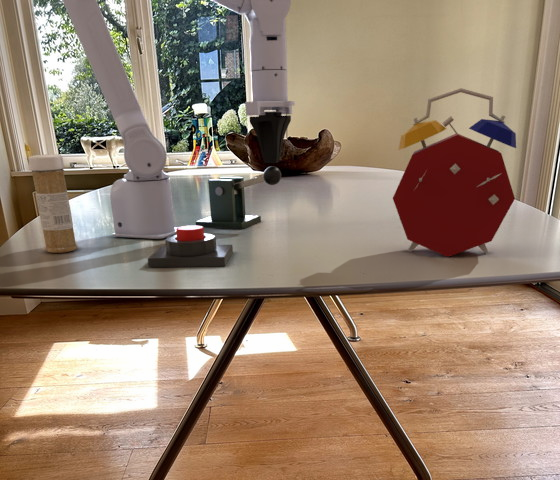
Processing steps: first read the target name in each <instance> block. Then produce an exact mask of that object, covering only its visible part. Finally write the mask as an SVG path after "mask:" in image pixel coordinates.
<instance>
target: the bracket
mask: <svg viewBox="0 0 560 480" xmlns="http://www.w3.org/2000/svg"><path fill="white" fill-rule="evenodd" d="M244 179H245V178H244V177H243V176H221V177H219V178H218V179H213V178H211V179H208V180H207V182H208V183H207V184H208V196H209V210H210V216H208V217H205V218H202V219H199V220H195V225H198V226H203V229H204V228H206V229H231V230H244V229H245V228H248V227H250V226H253V225H255V224H258V223H260V222H261V221H262V216H261V215H247V214H246V198H245V187H244V188H240V189H237V191H238V194H235V195H234V180H235V184H236V183H239V182H242V181H245V180H244Z"/></svg>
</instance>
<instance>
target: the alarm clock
mask: <svg viewBox="0 0 560 480" xmlns="http://www.w3.org/2000/svg"><path fill="white" fill-rule="evenodd" d="M459 93H462V94H465V95H469V96H473V97H477V98H480V99H484V100H487V101H488V116H489V117H491V118H493V119H495V120H493V119H485V118H481V119H480V120H478V121H477V122H475V123H474V124H473V125H471V126H470V127H468V129H469V130H471V131H473V132H476V133H478V134H480V135H483V136H485V137H487V138H490V139H489V140H488V142H487V144H484V143H481V142H479V141H476V140H475V139H472V138H469V137H467V136H465V135H462V134H460V133H458V132H457V130H456V129H455V128H454V126H453V125H452V124H451V123H452V122H453V121H454V118H453V116H451V115H450V116H449V117H448V118H446V120H444V121H443V122H442V123H440V122H439V121H438V120H436V119H434V120H428V121H425V120H427V119H429V118H430V116H431V108H432V103H433V102H436V101H439V100H442V99H445V98H448V97H451V96H454V95H457V94H459ZM493 109H494V96H491V95H487V94H484V93H480V92H476V91H473V90H469V89H466V88H462V87H461V88H457V89H454V90H452V91H449V92H445V93H443V94H440V95H437V96H434V97H431V98H428V99H427V106H426V112H425V115H423V117H421V118H420V119H419V120H418V117H415V118H413V122H414V123H413V124H412V127H410V128H409V129H407V130H406V131H405V132H404V133H403V134H401V136H400V141H399V145H398V149H397V150H398V151H401V150H403V149H406V148H408V147H411V146H413V145H415V144H418V143H420V142H421V146H422V147H421V148H420V149H417V150H414V151H413V152H412V154H411V157H410V158H409V161H408V163H407V166H406V168H405V170H404V172H403V174H402V176H401V179H400V180H399V183H398V185H397V188H396V190H395V191H394V194H393V196H392V200H393V201H392V202H393V203H394V206H395V209H396V211H397V215H398V217H399V220H400V223H401V225H402V228H403V232H404V234H405V236H406V239H407V240H408V241H409V242H411V243H410V245H409V246H408V249H407V250H408V252H409V253H410V252H413V251H414V250H415V249H416V248H417V247H418V246H421V247H424V248H426V249H427V250H430V251H432V252H435V253H437V254H440V255H441V256H444V257H446V258H449V257H451V256H455V255H457V254H459V253H463V252H465V251H468V250H471V249H474V248H477V247H478V248H479V249H480V250H481V251H482V253H483V254H488V252H489V250H488V248H487V245H486V244H487V243H491V242H492V241H493V240H494V238H495V236H496V234H497V232H498V231H499V228H500V226H502V223H503V221H504V219H505V218H506V216H507V214H508V212H509V211H510V209H511V207H512V205H513V203H514V201H515V200H516V197H515V194H514V191H513V188H512V184H511V181H510V178H509V174H508V170H507V168H506V165H505V161H504V157H503V154H502V152H500V151H499V150H497V149H495V148H494V147H491V146H492V144H493V142H494V141H496V142H499V143H502V144H503V145H506V146H509V147H510V148H514V149H517V133H516V132H515V131H513V129H511V128H510V127H509V126H508V125H506V121H504V120H505V119H506V116H505V115H501V116H500V117H499V116H497V115H496V114H494V111H493ZM448 126H450V128H451V129H452V130H453V132H454V134H452V135H449V136H447V137H445V138H443V139H439V140H438V141H436V142H433V143H431V144H429V145H427V144H426V141H425V140H427V139H429V138H431V137H433V136H436V135H438V134H440V133H443V132H444V131H446V130H447V127H448Z"/></svg>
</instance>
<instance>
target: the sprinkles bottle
mask: <svg viewBox="0 0 560 480" xmlns="http://www.w3.org/2000/svg"><path fill="white" fill-rule="evenodd" d="M27 158H28V159H27V160H28V166H29V170H30V171H31V174H32V175H31V176H32V180H33V184H34V189H35V198H36V202H37V208H38V214H39V219H40V224H41V229H42V232H43V238H44V243H45V251H46V252H48V253H51V254H62V253H69V252H73V251H75V250H77V249H78V245H77V243H76V242H77V241H76V236H75V231H74V230H75V229H74V221H73V215H72V211H71V205H70V199H69V193H68V189H67V184H66V178H65V164H64V158H63V156H62V155H61V154H57V153H56V154H54V153H50V154H48V153H47V154H36V155H35V154H34V155H30V156H28V157H27Z"/></svg>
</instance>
